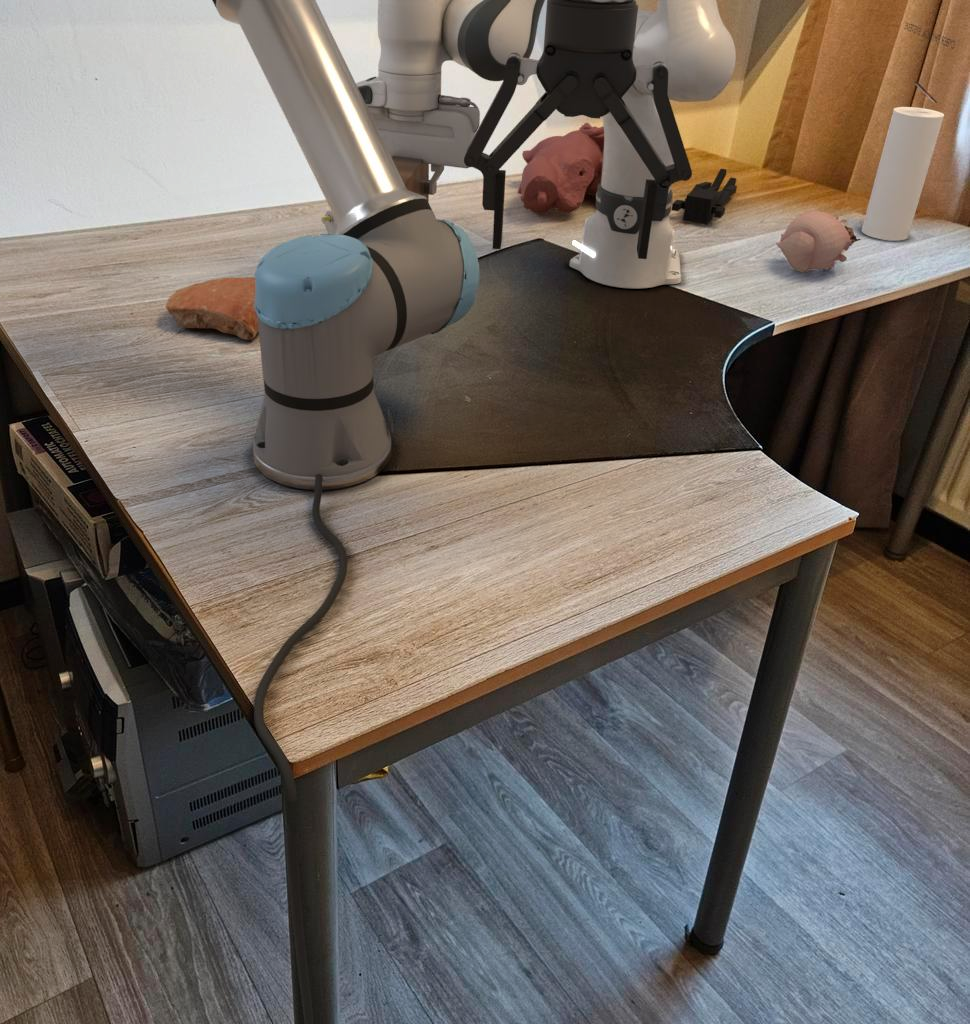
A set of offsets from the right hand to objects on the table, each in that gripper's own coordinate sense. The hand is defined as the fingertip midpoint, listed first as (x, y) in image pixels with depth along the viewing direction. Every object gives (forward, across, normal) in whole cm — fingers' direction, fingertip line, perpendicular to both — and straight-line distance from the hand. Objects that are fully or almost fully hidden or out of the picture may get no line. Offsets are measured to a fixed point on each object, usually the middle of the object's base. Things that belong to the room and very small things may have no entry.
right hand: (409, 191), depth 144 cm
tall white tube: (+15, -74, -60) cm, 97 cm away
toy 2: (+15, -61, -34) cm, 71 cm away
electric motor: (+15, +19, -15) cm, 28 cm away
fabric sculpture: (+15, -15, -54) cm, 58 cm away
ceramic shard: (+15, +20, +22) cm, 33 cm away
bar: (+3, -1, +9) cm, 10 cm away
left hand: (-11, -34, +50) cm, 61 cm away
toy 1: (+15, -42, -65) cm, 79 cm away
